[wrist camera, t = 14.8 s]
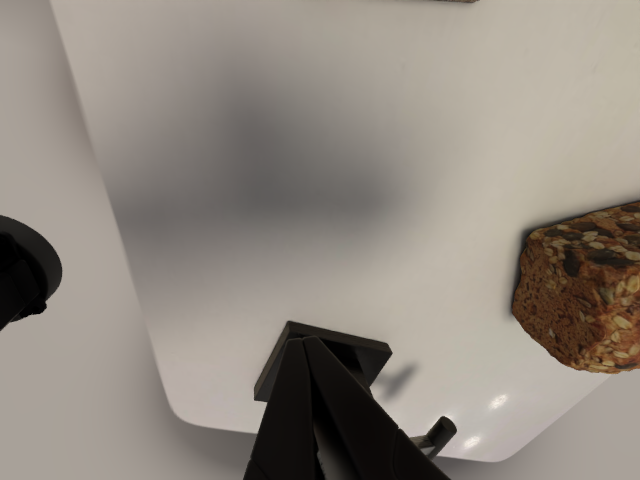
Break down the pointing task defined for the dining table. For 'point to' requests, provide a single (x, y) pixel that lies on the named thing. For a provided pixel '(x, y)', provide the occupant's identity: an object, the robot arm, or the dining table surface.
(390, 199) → the dining table surface
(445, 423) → the lever
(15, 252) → the robot arm
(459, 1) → the button box
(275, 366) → the bracket
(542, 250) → the bread
